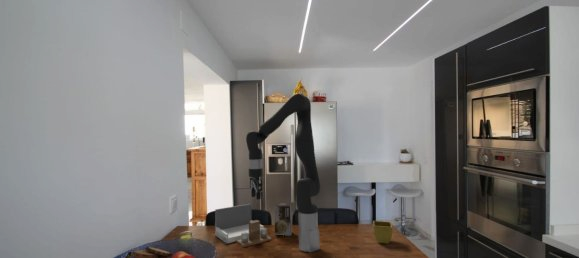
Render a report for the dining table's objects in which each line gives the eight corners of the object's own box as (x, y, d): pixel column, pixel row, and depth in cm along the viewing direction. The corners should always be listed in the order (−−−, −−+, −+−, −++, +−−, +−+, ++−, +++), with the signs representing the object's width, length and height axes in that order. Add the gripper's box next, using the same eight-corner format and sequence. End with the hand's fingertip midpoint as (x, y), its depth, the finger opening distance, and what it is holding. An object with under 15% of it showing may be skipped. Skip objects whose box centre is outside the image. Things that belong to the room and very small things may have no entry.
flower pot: (391, 239, 133) (390, 221, 134) (393, 245, 125) (392, 227, 125) (373, 238, 136) (373, 220, 136) (374, 244, 127) (373, 225, 128)
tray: (271, 240, 135) (271, 220, 136) (243, 247, 126) (243, 226, 126) (263, 236, 142) (263, 217, 142) (236, 242, 132) (236, 222, 133)
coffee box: (292, 232, 147) (291, 203, 148) (290, 236, 140) (290, 205, 141) (276, 231, 147) (275, 203, 148) (274, 235, 141) (274, 205, 142)
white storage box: (263, 234, 143) (263, 208, 144) (226, 243, 130) (226, 215, 131) (250, 227, 156) (250, 203, 157) (215, 234, 143) (215, 209, 144)
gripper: (266, 168, 135) (267, 199, 134) (257, 166, 148) (258, 195, 147) (252, 169, 132) (253, 201, 131) (245, 167, 145) (245, 196, 144)
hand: (255, 198), depth 139 cm, fingers open, 8 cm apart
